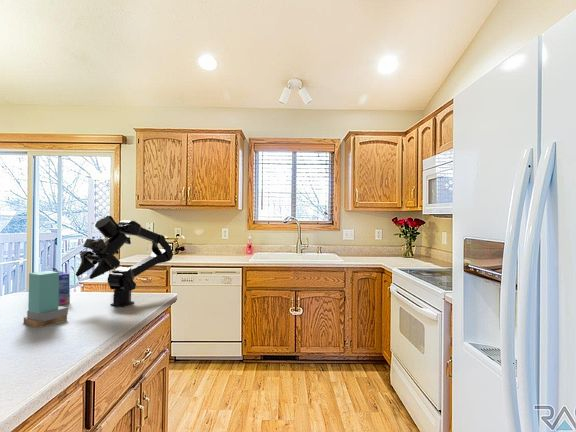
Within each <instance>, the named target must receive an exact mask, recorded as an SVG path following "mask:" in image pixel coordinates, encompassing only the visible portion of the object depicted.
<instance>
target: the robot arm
mask: <svg viewBox="0 0 576 432" xmlns="http://www.w3.org/2000/svg"><path fill="white" fill-rule="evenodd" d="M94 227H95V228H96V229H97V230H98V231H99V233H100V234H102V235H103V237H105V238H108V239H107V240H104V239H102V238H97V239H94V238H93V239H92V238H86V240H85V242H84V244H83V246H82V247H83V248H85V249H86V248H87V249H89V250H83V251H81V253H79V258H80V259H81V260H80V261H81V262H80V265H79V267H78V269H77V270H76V273H75V276H76V277H80V276H81V275H83V274H85V273H86V272H88V271H89V270H91V269H92V268H94V270H93V271H91V274H90V275H89V279H90V280H93V279H94V278H95V279H96V278H97V277H98V276H101V275H103V274H106V273H107V272H110V273H109V274H108V276H107V283H108V285H109V288H110V290H113V295H112V296H113V299H112V301H113V303H110V306H111V307H112V306H114V307H127V306H129V305H132V304H134V303H135V301H133V300H132V291H133V290H135V289H136V286H137V283H136V282H135V281H134V280H135V277H136V278H137V276H139V275H141V274H142V273H144V272H146V271H147V270H149V269H151V268H152V267H155V266H156V265H158V264H163V263H167V262H169V261H172V260H173V257H174V252H173V250H172V246H171V245H170V244H169V243H168V242H167V240H166V237H165V236H164V235H163V234H159V233H157V232H155V231H151V230H149V229H147V228H144V227H143V226H141V224H140V223H138V222H137V221H135V220H121V221H119V222H116V220H115V219H114V218H113V216H111V215H106V216H105V217H103V218H101V219H99V220H97V221H96V223H95V225H94ZM128 236H135V237H137V238H140V239H143V240H145V241H149V242H151V244H152V245H151V250H152V252H151V254H150V255H149V256H148V257H146V258H144V259H141V260H140V261H139V262H136V263H135V264H133V265H131V266H129V267H126V266H120V265H121V262H120V260H119V259H118V257H116V255H118V254H119V253H120V251H119V250H120V249H121V248H122V247H123V246H124V245H125V244H126V245H131V243H132V242H131V237H128ZM158 245H159V246H161V247H159V246H158ZM96 265H97V266H96Z"/></svg>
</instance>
